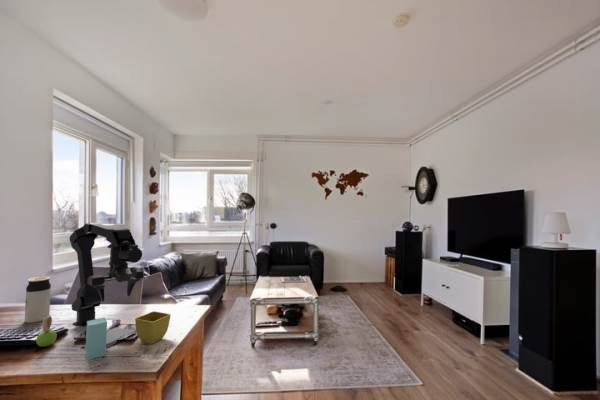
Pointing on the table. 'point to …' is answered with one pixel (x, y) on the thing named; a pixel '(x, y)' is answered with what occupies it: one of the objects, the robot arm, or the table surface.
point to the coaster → (115, 335)
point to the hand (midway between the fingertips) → (116, 298)
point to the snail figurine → (46, 333)
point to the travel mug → (37, 299)
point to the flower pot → (152, 326)
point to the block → (96, 338)
